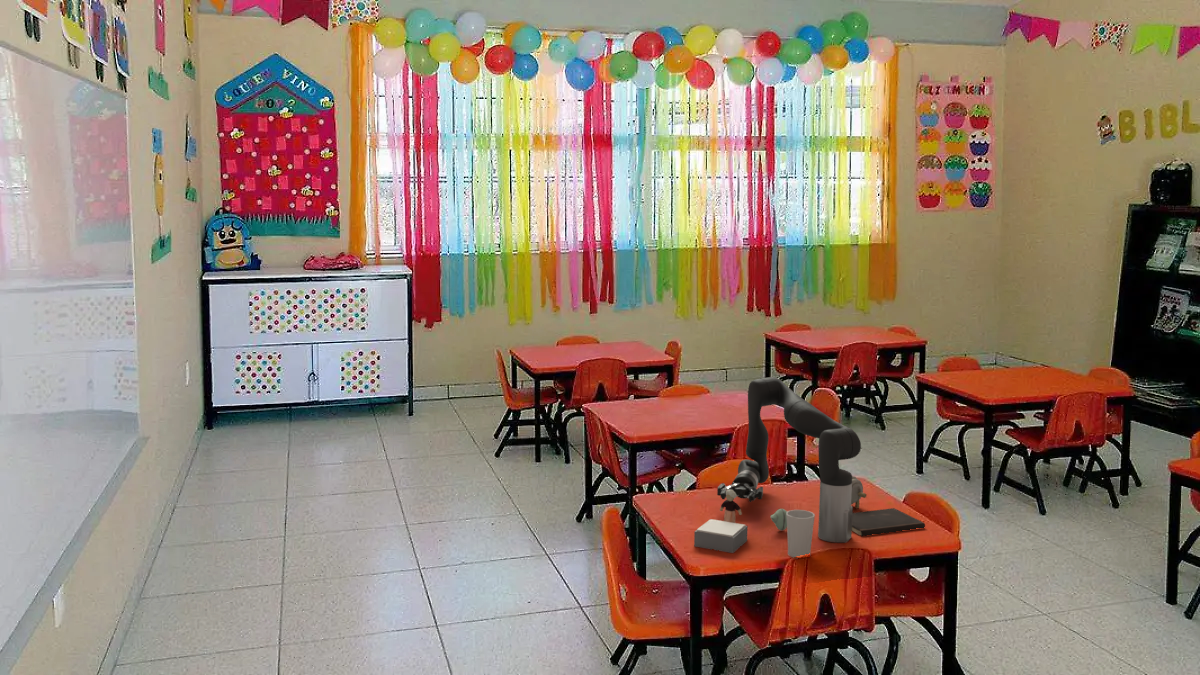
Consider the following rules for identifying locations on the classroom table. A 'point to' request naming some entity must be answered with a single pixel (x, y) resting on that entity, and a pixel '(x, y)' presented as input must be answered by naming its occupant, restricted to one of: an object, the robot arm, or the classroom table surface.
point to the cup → (799, 532)
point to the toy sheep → (856, 491)
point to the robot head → (780, 519)
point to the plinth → (720, 535)
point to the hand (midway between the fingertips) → (736, 497)
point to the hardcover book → (883, 522)
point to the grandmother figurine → (730, 507)
